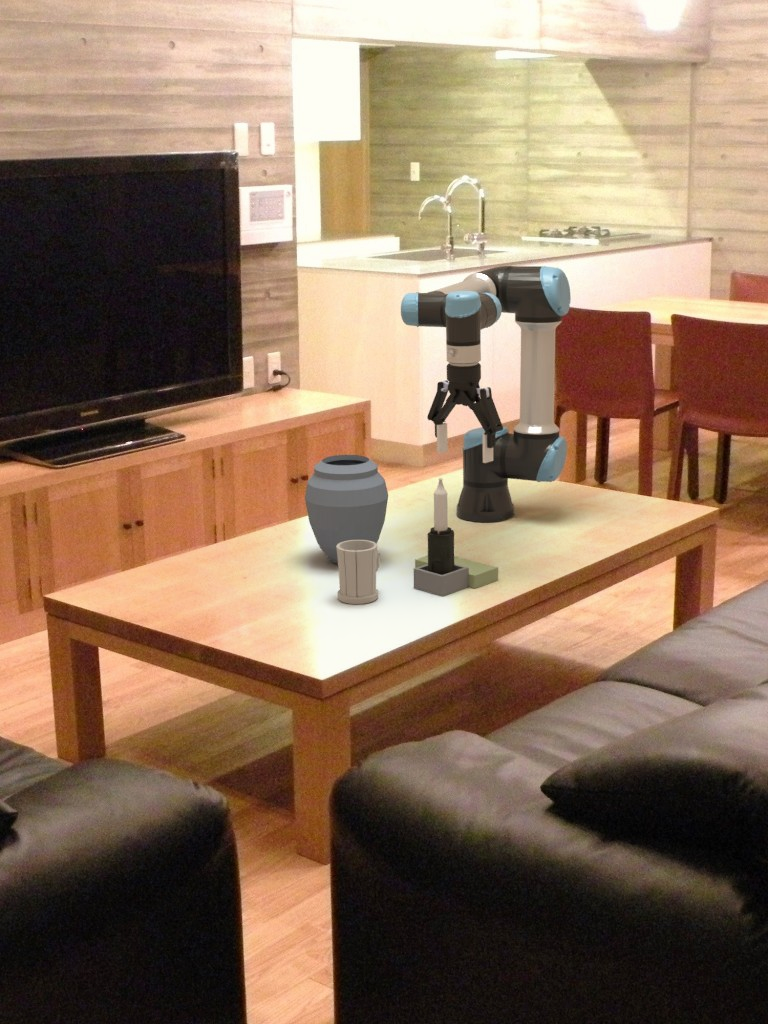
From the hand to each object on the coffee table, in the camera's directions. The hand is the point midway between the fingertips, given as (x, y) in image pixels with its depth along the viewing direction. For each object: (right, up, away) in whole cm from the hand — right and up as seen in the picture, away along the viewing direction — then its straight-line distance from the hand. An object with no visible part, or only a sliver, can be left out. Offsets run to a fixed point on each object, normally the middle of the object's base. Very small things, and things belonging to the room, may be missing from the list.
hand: (464, 457), depth 309 cm
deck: (-5, -28, +1) cm, 28 cm away
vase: (-26, -24, +17) cm, 40 cm away
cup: (-23, -31, -9) cm, 40 cm away
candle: (-5, -29, -3) cm, 30 cm away
